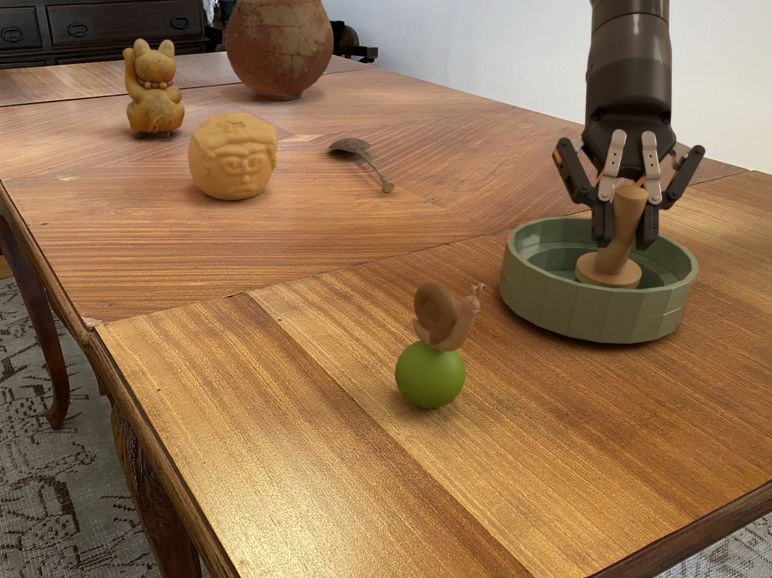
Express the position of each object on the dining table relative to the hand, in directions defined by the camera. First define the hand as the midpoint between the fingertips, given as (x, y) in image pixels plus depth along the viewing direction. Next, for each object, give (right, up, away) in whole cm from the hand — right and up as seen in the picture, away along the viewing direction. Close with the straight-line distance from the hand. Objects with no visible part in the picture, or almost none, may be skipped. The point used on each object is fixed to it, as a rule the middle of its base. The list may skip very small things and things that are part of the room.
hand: (624, 245), depth 64 cm
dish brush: (0, -4, +6) cm, 7 cm away
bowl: (-1, -5, +6) cm, 8 cm away
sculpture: (-39, +12, +33) cm, 52 cm away
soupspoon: (-20, +18, +42) cm, 50 cm away
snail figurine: (-19, -14, -8) cm, 25 cm away
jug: (-35, +43, +82) cm, 98 cm away
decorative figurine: (-54, +27, +56) cm, 83 cm away
